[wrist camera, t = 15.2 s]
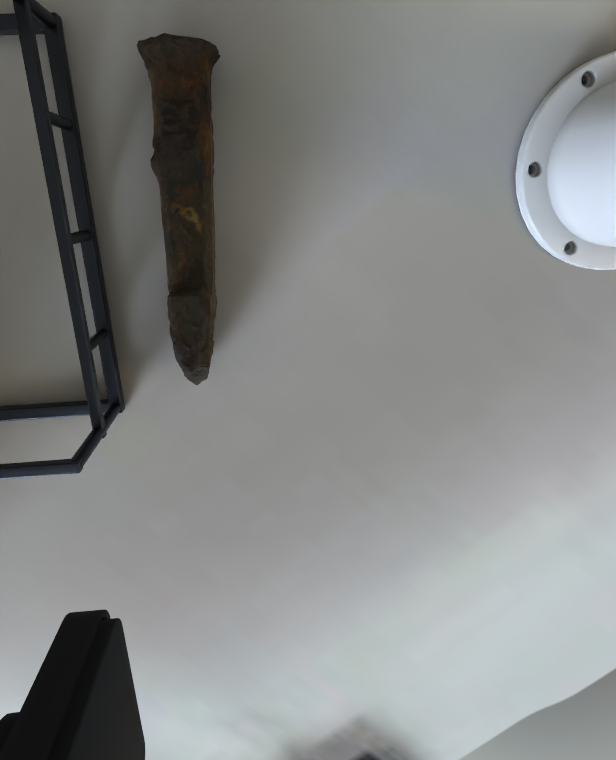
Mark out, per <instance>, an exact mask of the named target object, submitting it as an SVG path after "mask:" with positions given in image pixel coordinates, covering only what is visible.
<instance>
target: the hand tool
mask: <svg viewBox="0 0 616 760" xmlns="http://www.w3.org/2000/svg"><path fill="white" fill-rule="evenodd" d="M137 47H138V51H139V53H140V55H141V57H142V59H143V60H144V63H145V67H146V69H147V71H148V76H149V79H150V81H151V86H152V102H153V112H154V136H153V144H152V145H153V148H154V154H153V156H152V158H151V166H152V169H153V171H154V173H155V175H156V177H157V179H158V182H159V186H160V196H161V210H162V223H163V230H164V241H165V250H166V262H167V276H168V289H169V295H168V302H167V304H168V317H169V321H170V335H171V338H172V341H173V349H174V353H175V358H176V360H177V362H178V363H179V366H180V367H181V368H182V371H183V372H184V376H185V377H186V378H187V379H188V380H189V381H191V382H192V383H194V384H195V385H198V384H200V383H201V382H202V381H203V380H205V379H207V377H208V373H209V367H210V361H211V356H212V354H213V345H214V341H213V330H214V320H215V316H216V305H217V299H216V294H215V293H216V290H215V221H214V200H213V175H214V168H213V165H214V142H213V123H212V119H211V72H212V68H213V65H214V64H215V63H216V62H217V60H218V59H219V58H220V55H219V51H218V49H217V47H216V46H215V45H214V44H212V43H211V42H208V41H206V40H204V39H201V38H193V37H184V36H177V35H171V34H166V33H163V34H161V35H159V36H157V37H150V38H148V39H146V40H142V41H138V43H137Z"/></svg>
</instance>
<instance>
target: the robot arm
mask: <svg viewBox="0 0 616 760" xmlns="http://www.w3.org/2000/svg"><path fill="white" fill-rule="evenodd" d="M581 78H583V80H584V83H583V84H582V81H581ZM529 166H531V168H532V171H531V173H530V174H529V173H528V168H529ZM515 177H516V193H517V199H518V203H519V207H520V211H521V215H522V217H523V219H524V221H525V223H526V225H527V228H528V230H529V231H530V233H531V234H532V235H533V237H534V238H535V239H536V241H537V242H538V243H539V244H540V246H542V247H543V248H544V249H545V250H546V251H548V252H549V253H550V254H551V255H552V256H554V257H556V258H558V259H560V260H562V261H564V262H566V263H568V264H572V265H575V266H579V267H582V268H589V269H596V270H611V269H616V51H614V52H611V53H608V54H605V55H602V56H600V57H597V58H595V59H593V60H591V61H589V62H587V63H585V64H583V65H581V66H579V67H578V68H576V69H575V70H573V71H572V72H571V73H569V74H568V75H567V76H565V77H564V78H563V79H561V80H560V81H559V82H558V83H557V85H556V86H555V87H554V88H553V89H552V90H551V91H550V92H549V93H548V94H547V95H546V96H545V98H544V99H543V101H542V102H541V104H540V105H539V106H538V108H537V109H536V111H535V112H534V114H533V116H532V118H531V120H530V122H529V124H528V126H527V128H526V131H525V133H524V135H523V139H522V142H521V146H520V149H519V153H518V158H517V167H516V175H515ZM566 244H567V248H566V249H565V250H564V247H565V245H566ZM0 760H145V742H144V736H143V731H142V726H141V720H140V715H139V710H138V705H137V699H136V694H135V689H134V684H133V679H132V673H131V668H130V663H129V658H128V653H127V647H126V642H125V637H124V632H123V626H122V623H121V620H120V619H119V618H115V619H110V615H109V613H108V611H107V610H95V611H84V612H73V613H69V614H67V615H66V616H65V618H64V620H63V622H62V624H61V626H60V628H59V630H58V632H57V634H56V636H55V639H54V641H53V643H52V645H51V647H50V649H49V651H48V653H47V655H46V658H45V660H44V662H43V664H42V666H41V668H40V670H39V672H38V675H37V677H36V679H35V681H34V683H33V685H32V687H31V689H30V691H29V694H28V696H27V698H26V700H25V702H24V704H23V706H22V708H21V711H20V712H16V713H10V714H6V715H5V716H4V717H3V718H2V719H1V720H0Z"/></svg>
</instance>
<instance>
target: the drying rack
mask: <svg viewBox="0 0 616 760" xmlns="http://www.w3.org/2000/svg"><path fill="white" fill-rule="evenodd" d="M13 6H14V11H15V14H0V35H19V38H20V43H21V48H22V54H23V59H24V64H25V70H26V75H27V80H28V86H29V91H30V97H31V102H32V107H33V113H34V118H35V123H36V129H37V134H38V139H39V145H40V150H41V155H42V161H43V166H44V172H45V177H46V182H47V188H48V193H49V198H50V204H51V209H52V214H53V220H54V225H55V230H56V236H57V241H58V246H59V252H60V257H61V263H62V268H63V273H64V279H65V284H66V289H67V295H68V300H69V305H70V311H71V316H72V321H73V327H74V332H75V338H76V343H77V348H78V354H79V359H80V364H81V370H82V375H83V380H84V386H85V391H86V396H87V401H74V402H60V403H45V404H31V405H16V406H2V407H0V421H11V420H25V419H40V418H54V417H68V416H82V415H90V418H91V423H92V429H93V430H92V431H91V433H90V434H89V435H88V437H87V438H86V440H85V441H84V442H83V444H82V445H81V446H80V448H79V449H78V450H77V452H76V453H75V455H74V456H73V457H72V459H63V460H50V461H36V462H23V463H10V464H0V479H6V478H19V477H32V476H46V475H59V474H72V473H80V472H81V470H82V469H83V466H84V464H85V463H86V461H87V460H88V458H89V457H90V455H91V454H92V452H93V451H94V449H95V448H96V446H97V445H98V443H99V442H100V440H101V439H102V438H104V437H105V436H106V434H107V433H106V431H107V430H108V428H109V427H110V425H111V424H112V422H113V421H114V419H115V418H116V416H117V415H118V413H122V412H123V411H124V409H125V406H124V400H123V394H122V388H121V382H120V376H119V369H118V363H117V357H116V351H115V345H114V339H113V333H112V327H111V321H110V315H109V308H108V302H107V296H106V290H105V284H104V278H103V272H102V266H101V260H100V254H99V247H98V241H97V235H96V229H95V223H94V217H93V211H92V205H91V199H90V193H89V187H88V180H87V174H86V168H85V162H84V156H83V150H82V144H81V138H80V132H79V126H78V119H77V113H76V107H75V101H74V95H73V89H72V83H71V77H70V71H69V65H68V59H67V52H66V46H65V40H64V34H63V27H62V21H61V17H60V16H59V15H58V14H57V13H50V12H49V11H48V10H47V9H46V8H44V7H43V6H42V5H41V4H40V3H39V2H37V1H36V0H13ZM35 34H45V39H46V44H47V50H48V56H49V62H50V67H51V73H52V79H53V85H54V90H55V96H56V102H57V108H58V113H59V115H57V114H55V113H52V112H50V111H49V108H48V103H47V97H46V91H45V86H44V80H43V75H42V69H41V63H40V58H39V52H38V47H37V41H36V35H35ZM52 125H53V126H55V127H58V128H61V131H62V137H63V142H64V148H65V154H66V160H67V165H68V171H69V177H70V183H71V188H72V194H73V200H74V206H75V211H76V217H77V223H78V229H79V231H78V232H73V233H71V231H70V226H69V220H68V215H67V209H66V203H65V198H64V192H63V187H62V181H61V175H60V170H59V164H58V159H57V153H56V147H55V142H54V136H53V131H52ZM80 242H81V246H82V252H83V257H84V263H85V269H86V275H87V281H88V286H89V292H90V298H91V304H92V309H93V315H94V321H95V327H96V332H97V333H95V334H94V335H93V336H92V337H91V338H89V332H88V327H87V321H86V316H85V310H84V304H83V299H82V293H81V288H80V282H79V276H78V271H77V265H76V260H75V254H74V248H73V244H76V243H80ZM98 344H99V350H100V355H101V361H102V367H103V373H104V378H105V384H106V390H107V396H108V399H103V400H100V394H99V388H98V383H97V377H96V372H95V366H94V360H93V355H92V350H93V349H94V348H95V347H96V346H97V345H98ZM103 414H104V415H103Z"/></svg>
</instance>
